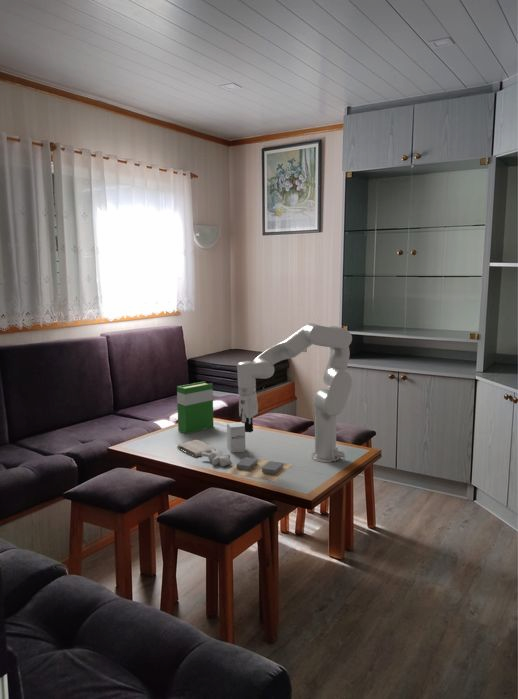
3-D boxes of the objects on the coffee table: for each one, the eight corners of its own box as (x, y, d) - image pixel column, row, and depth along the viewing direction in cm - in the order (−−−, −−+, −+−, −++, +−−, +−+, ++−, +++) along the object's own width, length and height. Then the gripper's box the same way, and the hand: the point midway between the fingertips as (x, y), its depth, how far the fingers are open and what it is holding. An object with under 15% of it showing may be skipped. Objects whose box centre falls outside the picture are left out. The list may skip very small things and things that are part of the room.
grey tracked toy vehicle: (196, 443, 272) (196, 437, 272) (217, 453, 258) (217, 446, 258) (175, 448, 265) (175, 442, 264) (195, 458, 251) (195, 452, 250)
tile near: (283, 462, 237) (275, 470, 229) (283, 467, 237) (275, 475, 229) (270, 461, 239) (262, 468, 231) (270, 465, 239) (262, 472, 231)
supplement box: (230, 453, 256) (230, 427, 254) (227, 448, 263) (226, 422, 261) (245, 451, 258) (245, 425, 256) (242, 446, 265) (241, 421, 263)
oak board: (292, 465, 241) (292, 464, 241) (275, 481, 223) (275, 481, 223) (245, 457, 250) (245, 457, 250) (225, 473, 232) (225, 472, 232)
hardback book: (205, 423, 303) (204, 381, 299) (213, 426, 297) (212, 383, 294) (178, 430, 292) (176, 386, 288) (186, 433, 286) (184, 388, 282)
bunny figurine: (219, 461, 235) (198, 449, 246) (219, 472, 236) (198, 459, 247) (236, 456, 241) (215, 444, 252) (235, 466, 243) (214, 454, 253)
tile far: (257, 459, 242) (249, 466, 233) (257, 463, 242) (249, 470, 234) (245, 457, 244) (236, 464, 236) (245, 461, 244) (236, 468, 236)
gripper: (247, 395, 226) (249, 437, 229) (262, 386, 239) (263, 427, 242) (231, 394, 229) (233, 436, 232) (246, 385, 242) (248, 425, 246)
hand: (249, 431), depth 237 cm, fingers closed
